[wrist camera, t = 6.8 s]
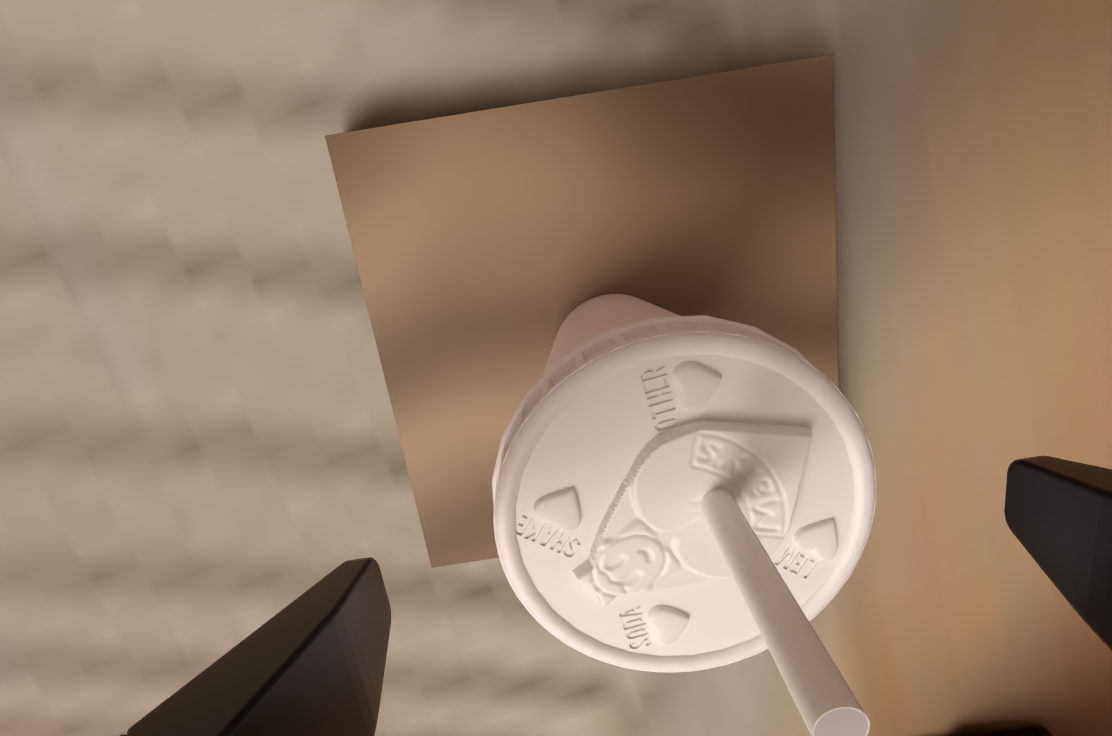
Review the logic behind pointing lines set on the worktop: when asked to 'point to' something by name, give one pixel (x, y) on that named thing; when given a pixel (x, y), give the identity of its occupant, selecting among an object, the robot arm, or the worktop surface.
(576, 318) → the white cup with straw
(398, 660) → the worktop surface
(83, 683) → the worktop surface
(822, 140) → the walnut board
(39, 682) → the worktop surface
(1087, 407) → the worktop surface
